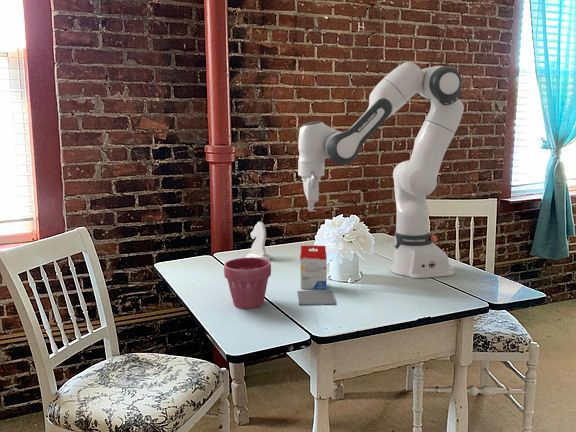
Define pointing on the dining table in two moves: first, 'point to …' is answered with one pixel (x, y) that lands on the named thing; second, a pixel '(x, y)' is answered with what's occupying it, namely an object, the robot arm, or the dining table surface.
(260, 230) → the chess piece
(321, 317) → the dining table surface
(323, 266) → the ink box
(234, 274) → the plant pot
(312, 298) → the mat
